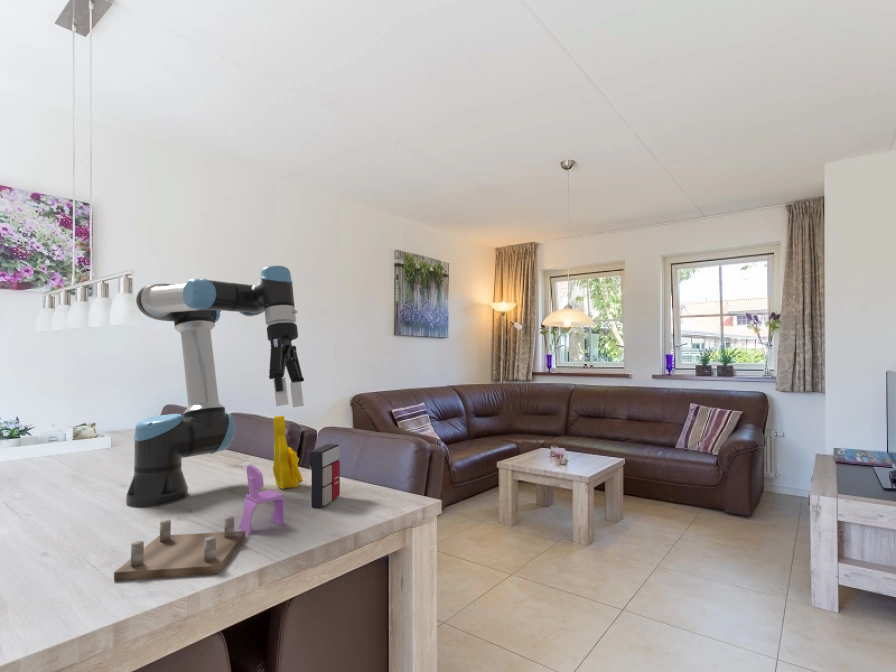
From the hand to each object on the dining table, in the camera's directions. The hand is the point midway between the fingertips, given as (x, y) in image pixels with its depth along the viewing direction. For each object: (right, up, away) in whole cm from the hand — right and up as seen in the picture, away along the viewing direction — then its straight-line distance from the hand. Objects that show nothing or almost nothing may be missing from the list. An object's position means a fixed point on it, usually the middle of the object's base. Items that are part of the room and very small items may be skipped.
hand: (290, 406), depth 122 cm
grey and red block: (+6, -28, +12) cm, 31 cm away
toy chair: (-5, -28, -7) cm, 29 cm away
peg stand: (-13, -27, -24) cm, 39 cm away
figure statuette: (-10, -29, +27) cm, 41 cm away
